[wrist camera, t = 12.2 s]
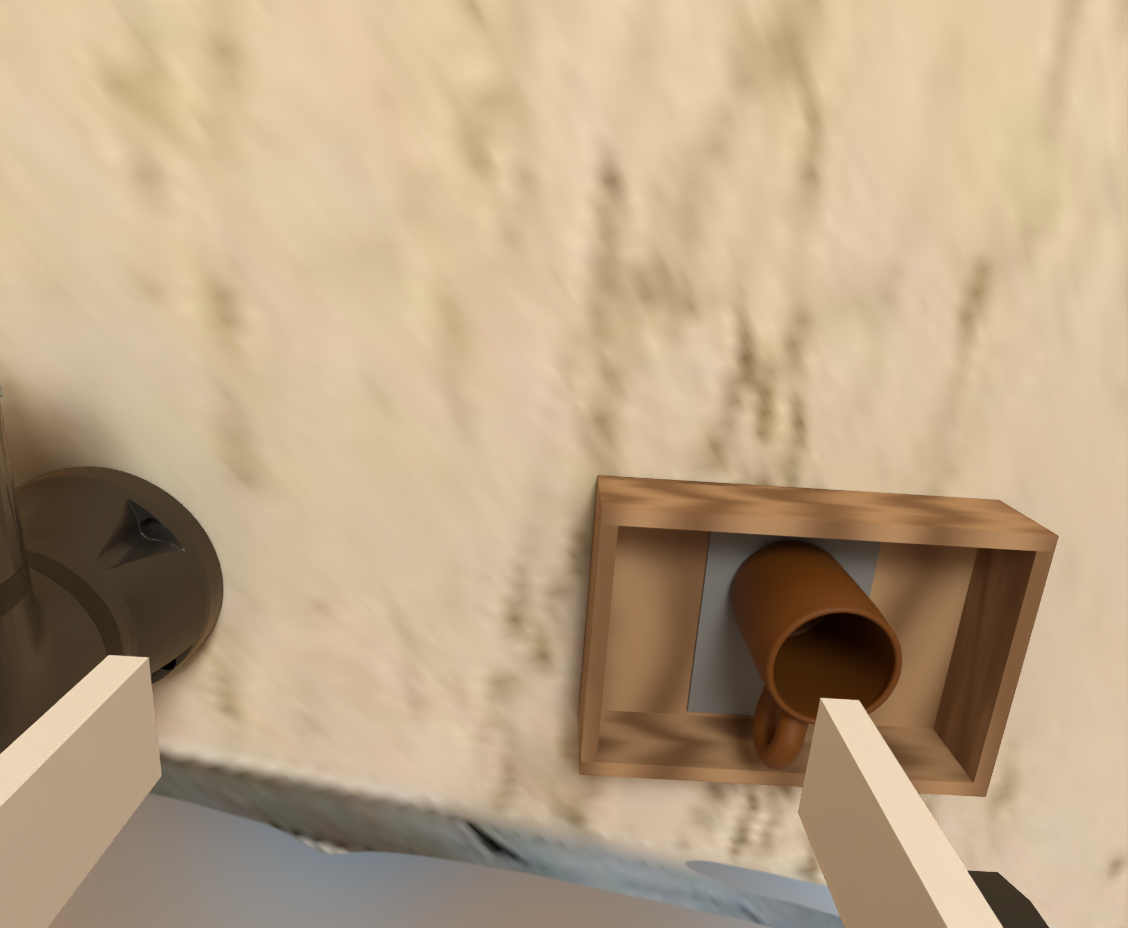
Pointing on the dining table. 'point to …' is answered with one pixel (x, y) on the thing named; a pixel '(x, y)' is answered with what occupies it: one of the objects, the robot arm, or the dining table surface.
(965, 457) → the dining table surface
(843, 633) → the mug
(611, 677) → the crate
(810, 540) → the pad
